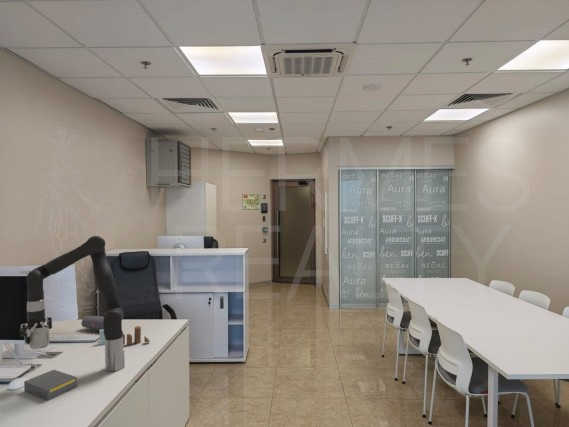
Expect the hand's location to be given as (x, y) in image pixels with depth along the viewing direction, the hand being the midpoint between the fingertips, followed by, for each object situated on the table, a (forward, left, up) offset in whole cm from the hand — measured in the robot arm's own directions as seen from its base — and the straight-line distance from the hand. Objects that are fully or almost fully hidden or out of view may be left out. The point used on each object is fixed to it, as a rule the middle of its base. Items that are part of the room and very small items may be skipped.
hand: (36, 340), depth 180 cm
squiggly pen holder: (+20, -57, -22) cm, 65 cm away
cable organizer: (0, 0, -4) cm, 4 cm away
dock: (-13, +1, -22) cm, 25 cm away
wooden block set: (-2, -58, -22) cm, 62 cm away
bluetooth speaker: (+45, -66, -22) cm, 83 cm away
